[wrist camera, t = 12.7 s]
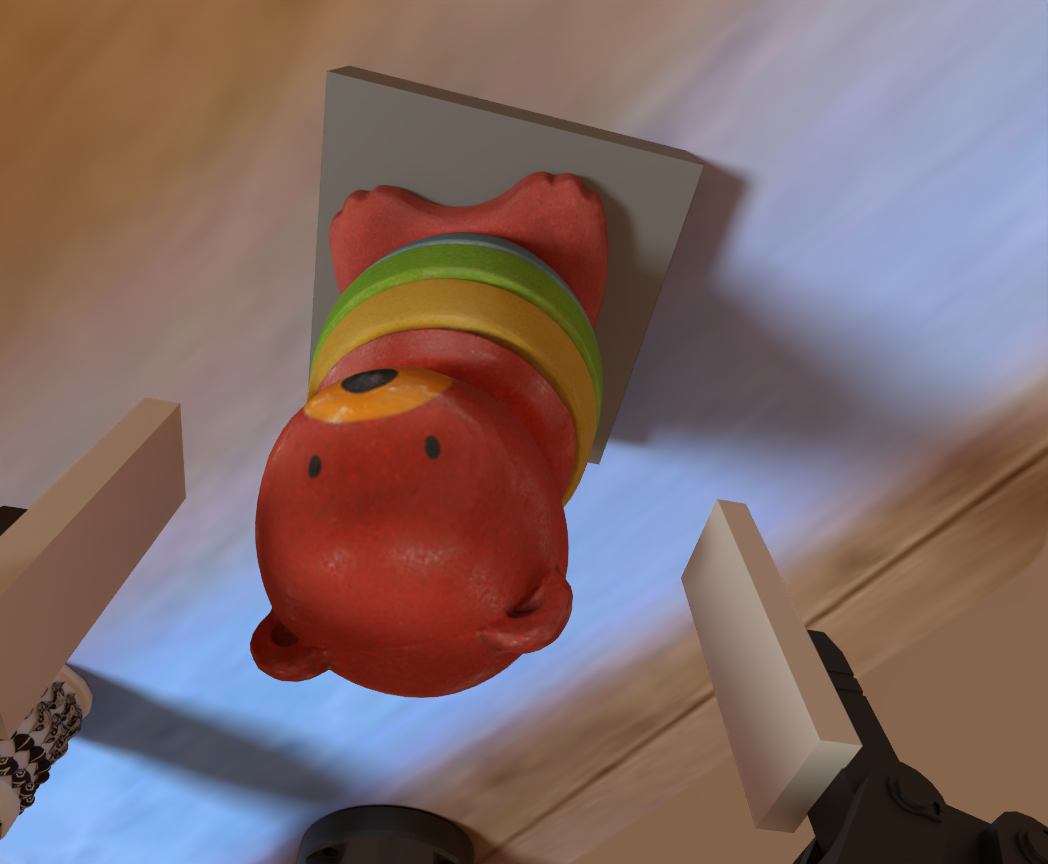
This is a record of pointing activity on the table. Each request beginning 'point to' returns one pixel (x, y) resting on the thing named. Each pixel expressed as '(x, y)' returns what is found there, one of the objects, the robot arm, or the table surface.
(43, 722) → the decorative candle
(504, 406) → the stacking bear
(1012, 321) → the table surface
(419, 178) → the gray block
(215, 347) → the table surface
